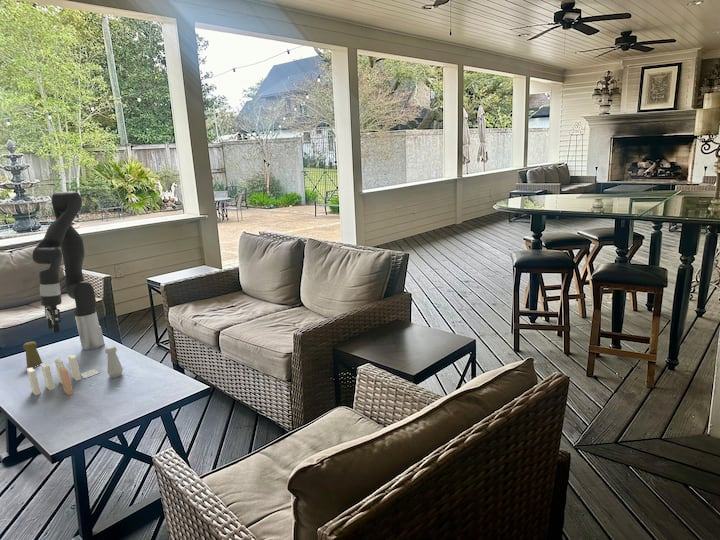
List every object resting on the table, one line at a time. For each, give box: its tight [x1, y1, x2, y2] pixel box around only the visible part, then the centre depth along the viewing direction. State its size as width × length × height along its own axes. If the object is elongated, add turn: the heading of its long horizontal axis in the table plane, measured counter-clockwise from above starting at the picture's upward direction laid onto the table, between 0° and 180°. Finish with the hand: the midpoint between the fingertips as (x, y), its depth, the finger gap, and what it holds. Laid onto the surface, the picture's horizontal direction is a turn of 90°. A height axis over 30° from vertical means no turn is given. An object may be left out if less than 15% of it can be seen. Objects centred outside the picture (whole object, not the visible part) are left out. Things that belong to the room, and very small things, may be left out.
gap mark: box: [80, 368, 100, 379], centre depth 212 cm, size 6×6×1 cm
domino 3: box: [54, 358, 65, 384], centre depth 204 cm, size 2×5×10 cm, turn 47°
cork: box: [22, 341, 43, 369], centre depth 225 cm, size 6×6×11 cm
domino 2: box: [40, 362, 56, 391], centre depth 201 cm, size 2×5×10 cm, turn 46°
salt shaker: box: [104, 345, 124, 379], centre depth 207 cm, size 6×6×13 cm
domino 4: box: [59, 366, 74, 396], centre depth 196 cm, size 2×5×10 cm, turn 47°
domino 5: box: [67, 354, 82, 382], centre depth 208 cm, size 2×5×10 cm, turn 46°
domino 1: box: [26, 367, 42, 396], centre depth 197 cm, size 2×5×10 cm, turn 47°
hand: (53, 330), depth 215 cm, fingers open, 8 cm apart
